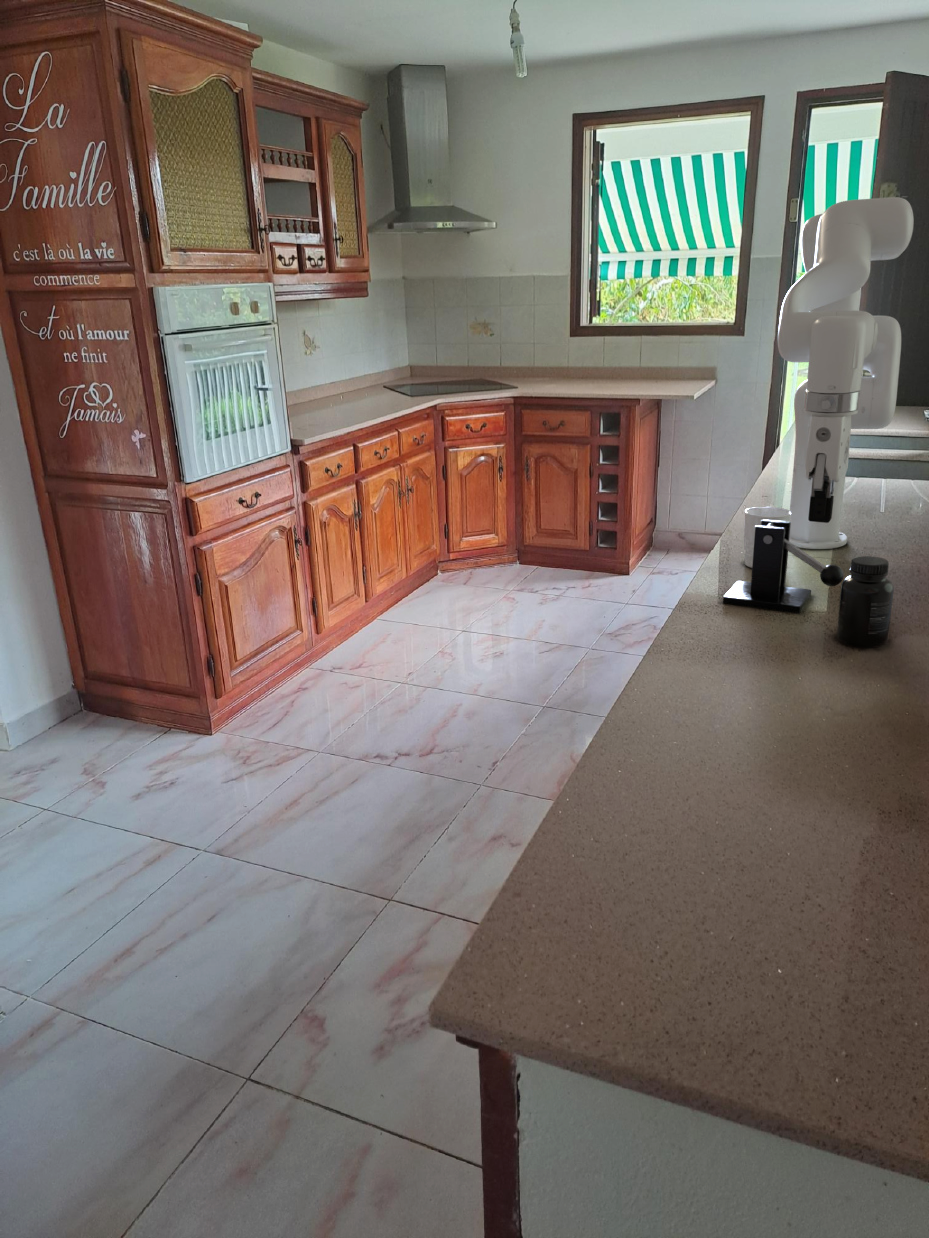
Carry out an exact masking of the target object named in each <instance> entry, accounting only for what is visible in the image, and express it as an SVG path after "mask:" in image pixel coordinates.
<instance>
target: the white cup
mask: <svg viewBox="0 0 929 1238" xmlns="http://www.w3.org/2000/svg"><path fill="white" fill-rule="evenodd" d="M790 516H791V512H790V509H787V508H784V507H778V506H753V507H749V508H746V509H745V510H744V529H743V531H744V532H743V534H744V535H743V542H744V543H743V544H744V547H743V549H744V565H745V566H747V567H748V568H751V569H752V565H753V551H754V538H755V527H756V526H757V525H760V526H761V521H762V520H763V519H765V520H777V521H788V522H790Z"/></svg>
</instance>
